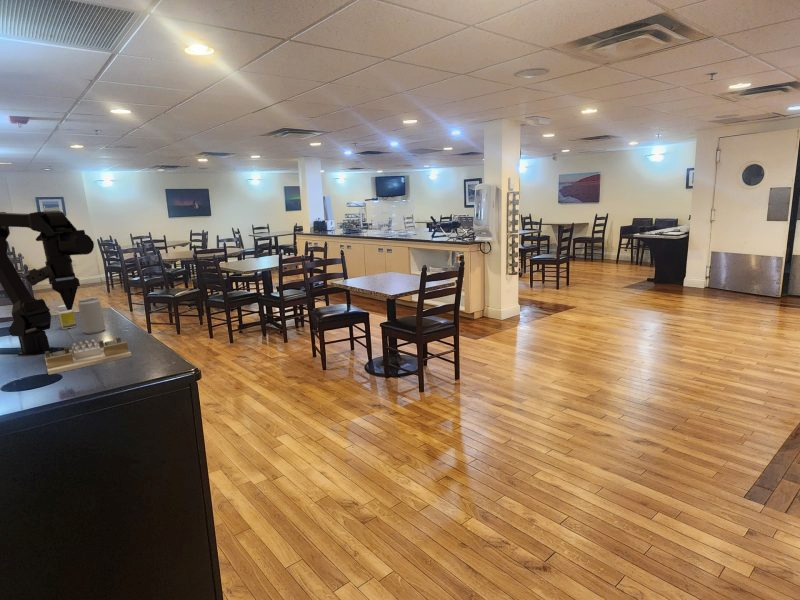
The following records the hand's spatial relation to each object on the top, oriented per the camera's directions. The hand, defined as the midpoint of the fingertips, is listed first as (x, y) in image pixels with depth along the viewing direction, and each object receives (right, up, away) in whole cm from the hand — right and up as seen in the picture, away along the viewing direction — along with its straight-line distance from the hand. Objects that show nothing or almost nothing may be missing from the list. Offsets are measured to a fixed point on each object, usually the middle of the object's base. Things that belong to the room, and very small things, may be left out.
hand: (69, 309), depth 138 cm
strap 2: (+12, -11, 0) cm, 16 cm away
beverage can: (-10, -9, +28) cm, 31 cm away
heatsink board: (+7, -13, -3) cm, 16 cm away
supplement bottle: (-26, -8, +38) cm, 47 cm away
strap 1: (+2, -13, -8) cm, 15 cm away
